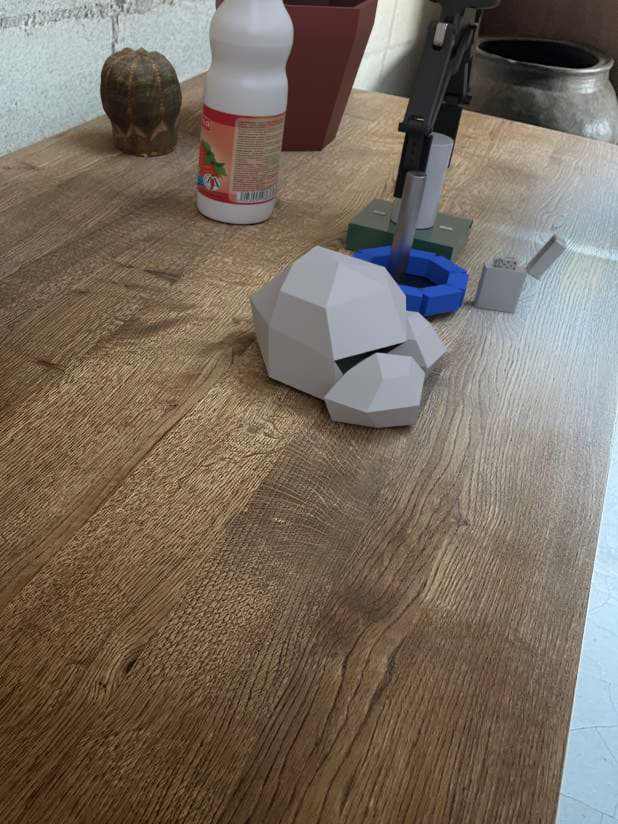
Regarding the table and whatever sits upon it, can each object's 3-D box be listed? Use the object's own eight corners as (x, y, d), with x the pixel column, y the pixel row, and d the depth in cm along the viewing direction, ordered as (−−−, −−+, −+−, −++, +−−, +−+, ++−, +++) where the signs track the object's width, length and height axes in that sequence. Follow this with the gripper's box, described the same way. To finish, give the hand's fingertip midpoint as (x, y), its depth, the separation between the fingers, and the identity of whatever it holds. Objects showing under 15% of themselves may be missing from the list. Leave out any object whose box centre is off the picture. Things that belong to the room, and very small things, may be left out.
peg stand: (444, 286, 98) (473, 171, 91) (423, 317, 92) (452, 196, 84) (364, 266, 101) (385, 152, 93) (338, 295, 94) (359, 176, 87)
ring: (467, 278, 98) (472, 260, 97) (457, 324, 89) (462, 304, 88) (357, 256, 100) (360, 239, 99) (336, 299, 91) (339, 280, 90)
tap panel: (466, 245, 108) (473, 218, 106) (447, 273, 101) (454, 245, 99) (369, 222, 112) (374, 196, 110) (344, 248, 104) (348, 221, 102)
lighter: (474, 307, 95) (495, 231, 90) (473, 300, 96) (494, 224, 91) (544, 317, 94) (569, 241, 89) (542, 310, 96) (567, 234, 90)
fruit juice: (266, 231, 107) (300, -54, 89) (187, 218, 108) (205, -65, 90) (278, 204, 114) (312, -64, 96) (204, 193, 115) (224, -74, 97)
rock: (442, 344, 88) (468, 245, 81) (439, 456, 72) (471, 345, 66) (255, 312, 90) (266, 214, 83) (213, 416, 74) (223, 305, 68)
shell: (104, 131, 132) (105, 38, 124) (181, 138, 132) (186, 46, 124) (95, 155, 123) (94, 56, 116) (176, 162, 123) (181, 64, 116)
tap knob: (397, 209, 107) (414, 125, 101) (438, 219, 106) (459, 134, 100) (385, 222, 103) (402, 135, 97) (428, 232, 102) (448, 145, 96)
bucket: (286, 106, 150) (308, -76, 134) (391, 144, 138) (429, -52, 123) (172, 126, 136) (182, -75, 121) (278, 169, 125) (304, -48, 109)
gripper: (482, -25, 78) (427, 222, 92) (531, -50, 96) (479, 159, 110) (397, -37, 80) (356, 206, 94) (460, -60, 98) (418, 147, 112)
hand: (422, 181), depth 102 cm, fingers open, 13 cm apart
